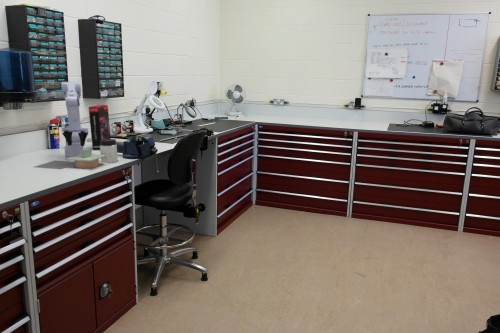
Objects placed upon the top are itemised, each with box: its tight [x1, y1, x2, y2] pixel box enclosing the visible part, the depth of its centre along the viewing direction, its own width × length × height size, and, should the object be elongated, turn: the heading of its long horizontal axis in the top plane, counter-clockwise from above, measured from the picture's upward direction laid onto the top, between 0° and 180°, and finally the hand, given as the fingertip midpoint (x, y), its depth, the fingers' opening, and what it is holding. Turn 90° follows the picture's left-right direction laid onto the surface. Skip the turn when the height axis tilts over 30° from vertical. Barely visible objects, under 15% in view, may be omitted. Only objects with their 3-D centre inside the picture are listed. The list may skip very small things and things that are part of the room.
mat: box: [34, 160, 75, 170], centre depth 218 cm, size 17×17×1 cm
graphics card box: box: [88, 104, 112, 151], centre depth 266 cm, size 17×7×27 cm, turn 179°
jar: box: [99, 138, 118, 164], centre depth 227 cm, size 9×8×12 cm
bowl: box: [74, 159, 100, 169], centre depth 216 cm, size 11×11×4 cm
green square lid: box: [65, 147, 106, 162], centre depth 215 cm, size 14×14×5 cm
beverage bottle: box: [63, 116, 69, 145], centre depth 265 cm, size 8×8×20 cm
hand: (76, 145), depth 217 cm, fingers open, 7 cm apart
